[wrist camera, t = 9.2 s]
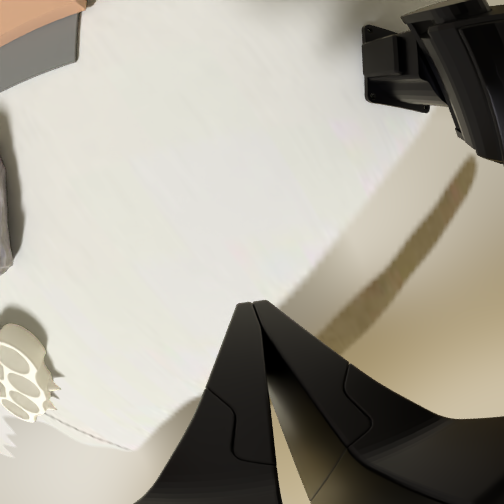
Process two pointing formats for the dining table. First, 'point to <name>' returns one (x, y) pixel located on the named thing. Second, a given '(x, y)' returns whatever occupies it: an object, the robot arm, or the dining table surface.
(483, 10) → the robot arm
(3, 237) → the stone block
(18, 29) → the tan flat block
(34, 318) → the dining table surface
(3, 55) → the mat
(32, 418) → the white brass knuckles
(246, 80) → the dining table surface
